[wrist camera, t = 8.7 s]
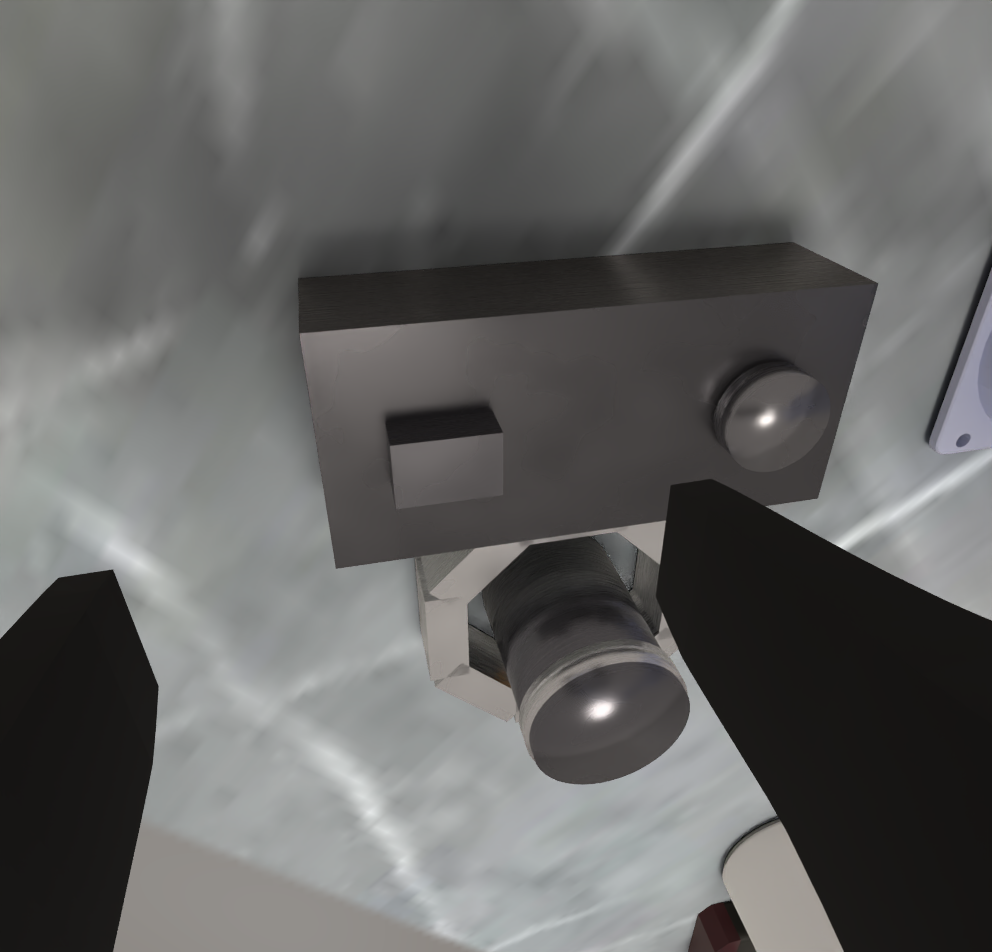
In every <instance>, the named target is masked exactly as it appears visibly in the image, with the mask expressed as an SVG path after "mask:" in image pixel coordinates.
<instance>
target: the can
mask: <svg viewBox="0 0 992 952" xmlns="http://www.w3.org/2000/svg"><path fill="white" fill-rule="evenodd" d="M722 878H723V882H724V884H725V887H726V889H727V891H728V893H729V895H730V898H731V900H732V902H733V904H734V906H735V908H736V910H737V912H738V914H739V916H740V919H741V921H742V923H743V925H744V927H745V929H746V931H747V933H748V935H749V937H750V939H751V941H752V943H753V945H754V948H755V950H756V952H844V951H843V949H842V947H841V945H840V943H839V940H838V938H837V936H836V934H835V932H834V929H833V927H832V925H831V923H830V921H829V919H828V916H827V914H826V912H825V910H824V908H823V905H822V903H821V901H820V899H819V897H818V895H817V893H816V891H815V889H814V887H813V885H812V883H811V881H810V879H809V877H808V875H807V873H806V871H805V869H804V866H803V864H802V862H801V860H800V858H799V856H798V854H797V852H796V850H795V848H794V846H793V844H792V842H791V840H790V838H789V836H788V834H787V832H786V830H785V828H784V826H783V824H782V823H781V821H780V819H776V820H774V821H771V822H769V823H766V824H764V825H762V826H760V827H758V828H757V829H755V830H753V831H752V832H750V833H749V834H747V835H746V836H745V837H744V838H742V839H741V840H740V841H739V842H738V843H737V844H736V845H735V846H734V847H733V848H732V849H731V851H730V852H729V854H728V855H727V857H726V859H725V862H724V870H723V875H722Z"/></svg>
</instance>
